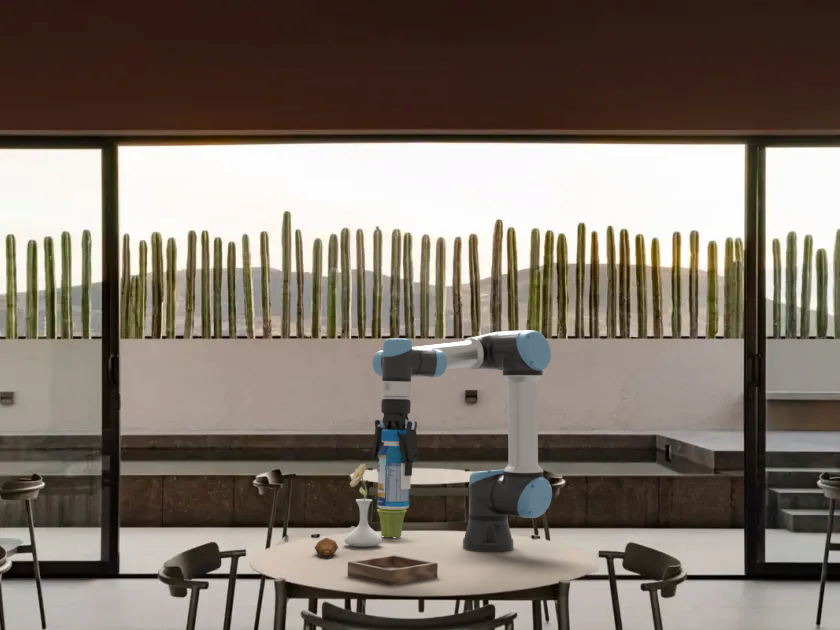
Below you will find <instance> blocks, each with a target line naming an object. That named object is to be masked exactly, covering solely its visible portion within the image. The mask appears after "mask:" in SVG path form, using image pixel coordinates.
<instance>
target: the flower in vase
mask: <svg viewBox="0 0 840 630" xmlns="http://www.w3.org/2000/svg"><path fill="white" fill-rule="evenodd" d="M365 472H366V464H365V463H360V465H359V466H358V467H356V468H355V470H354V473H353V475H352V476H351V478H350V480H351V481H350V482H349V485H350V487H351V488H354V487H355V486H357V485H358V484H359V483H360V481H361V480H362V482H363V485H364V488H363V487H362V486H360V488H359V489H358V490H359V493H360V494H361V495H363V498H359V499H358V498H356V499H355V502H356V503H357V505H358V508H359V509H358V510H359V523H358V525H357V526H356V527H355V528H354V529H353V530H352V531H351V532H349V534H347V535H346V537H345V538H344V543H345V544H346V545H348V546H351V547H356V548H357V547H359V548H370V547H374V546H378V545H380V544H382V542H383V539H382V538H383V537H382V536H380V534H378V533H377V532H376V531H375V530H374V529H373V528H371V526H370V525H369V522H368V514H369V508H370V504H371V503H372V501H373V499H371V498H370V499H369V498H366V497H367V495H368V489H367V486H366V483H365V479H363V477H364V475H365Z"/></svg>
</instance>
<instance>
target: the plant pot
mask: <svg viewBox="0 0 840 630" xmlns="http://www.w3.org/2000/svg"><path fill="white" fill-rule="evenodd" d="M376 511H377V513H378V517H379V523H380V533H381V534H380V535H381V537H382V536H384V537H389V538H390V537H400V536H401V537H402V532H403V526H404V518H405V515H406V513H407V509H399V510H391V509H381V508H377V510H376ZM401 537H400V538H401Z"/></svg>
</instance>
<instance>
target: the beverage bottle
mask: <svg viewBox="0 0 840 630" xmlns="http://www.w3.org/2000/svg"><path fill="white" fill-rule="evenodd" d="M398 431H399V433H400V434H403V435H405V434H406V430H398ZM398 441H399V437H398V436H397V430H387V429H383V430H382V442H384V445H383V446H382V448H381V449H380V452H379V455H378V457H379V463H378V462H377V464H378V468H377V469H378V472H377V502H376V503H377V504H376V506H377V509H391V510H399V509H404V510H407V509H409V507H410V489H401V463H402V461H403V457H402V453H401V450H400V446H399V442H398ZM407 458H408V457H407Z"/></svg>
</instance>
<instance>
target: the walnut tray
mask: <svg viewBox="0 0 840 630" xmlns="http://www.w3.org/2000/svg"><path fill="white" fill-rule="evenodd" d="M438 565H439V564H438V562H433V561H428V560H425V559H424V560H422V559H418V558H413V557H407V556H401V555H397V554H391V555H385V556H384V555H383V556H378V557H372V558H366V559H358V560H351V561H347V577H351V578H354V579H358V580H359V579H360V580H364V581H368V582H371V583H372V582H373V583H376V584H377V583H378V584H382V585H386V586H390V587H391V586H396V585H401V584H408V583H413V582H419V581H424V580H430V579H435V578H438V567H439V566H438Z"/></svg>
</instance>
